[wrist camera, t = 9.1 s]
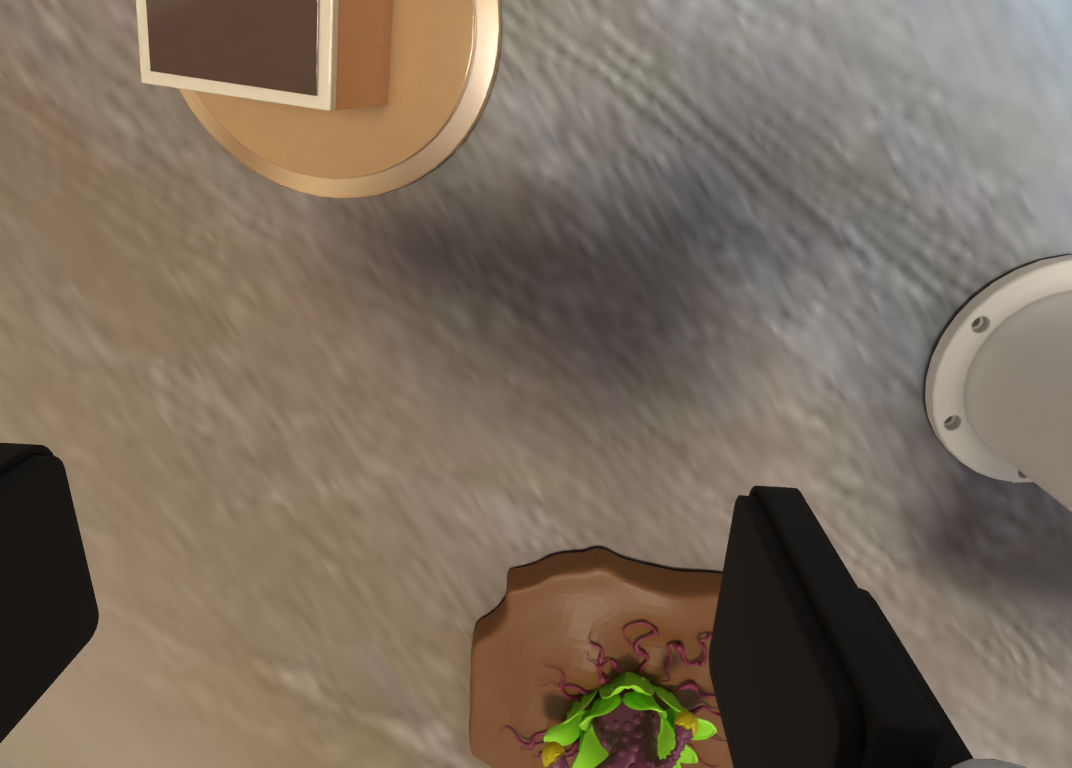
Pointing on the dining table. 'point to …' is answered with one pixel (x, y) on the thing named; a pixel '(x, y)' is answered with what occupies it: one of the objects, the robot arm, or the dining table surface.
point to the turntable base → (416, 164)
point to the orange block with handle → (316, 74)
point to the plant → (597, 668)
